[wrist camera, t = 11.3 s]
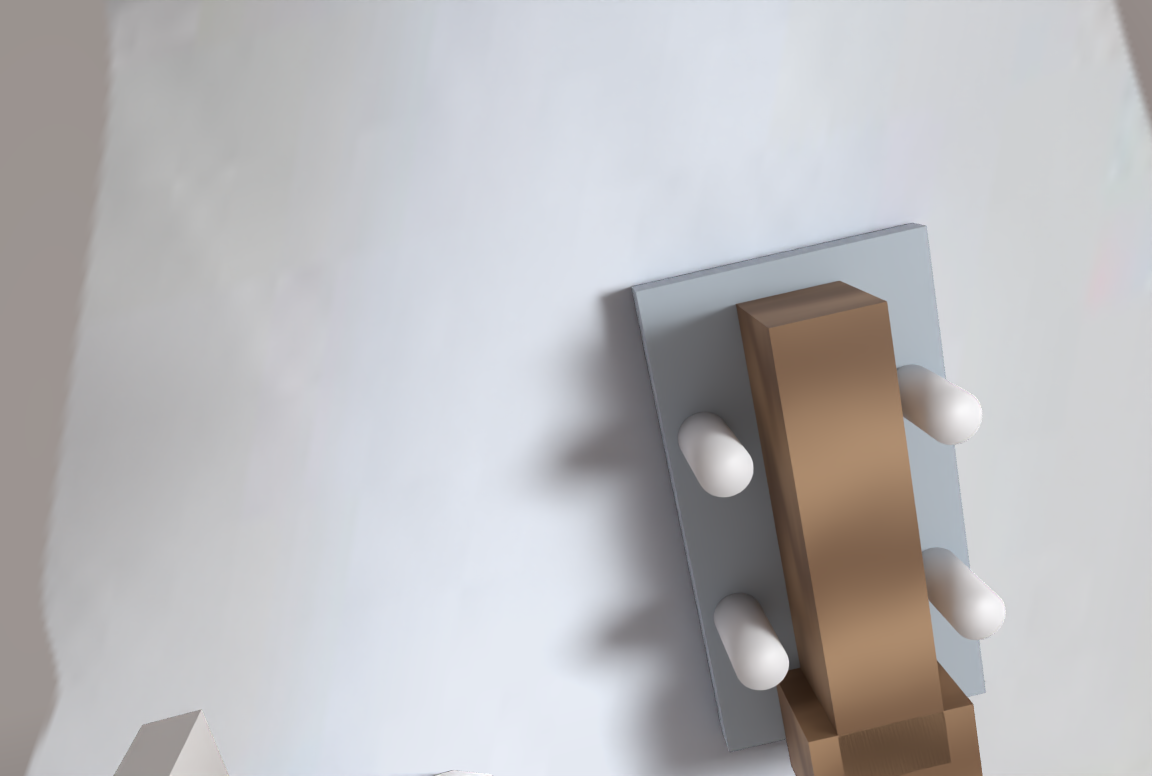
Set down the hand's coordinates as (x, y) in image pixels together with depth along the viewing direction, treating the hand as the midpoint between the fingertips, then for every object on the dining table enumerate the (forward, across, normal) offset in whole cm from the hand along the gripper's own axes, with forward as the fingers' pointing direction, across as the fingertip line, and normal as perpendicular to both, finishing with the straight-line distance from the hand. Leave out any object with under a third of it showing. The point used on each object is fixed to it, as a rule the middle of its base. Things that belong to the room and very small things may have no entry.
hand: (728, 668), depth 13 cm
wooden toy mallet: (+22, +6, -9) cm, 24 cm away
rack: (+23, +6, -9) cm, 25 cm away
